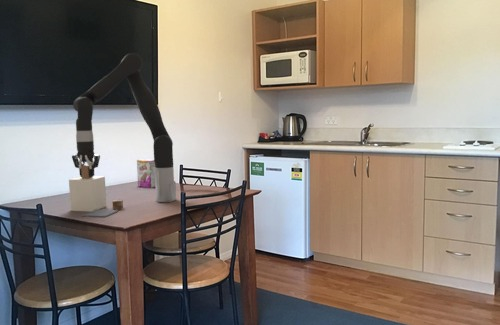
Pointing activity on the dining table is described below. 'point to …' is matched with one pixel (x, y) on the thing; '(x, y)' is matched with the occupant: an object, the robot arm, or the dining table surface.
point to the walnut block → (117, 204)
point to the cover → (87, 191)
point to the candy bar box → (146, 173)
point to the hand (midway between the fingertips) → (87, 176)
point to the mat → (100, 213)
